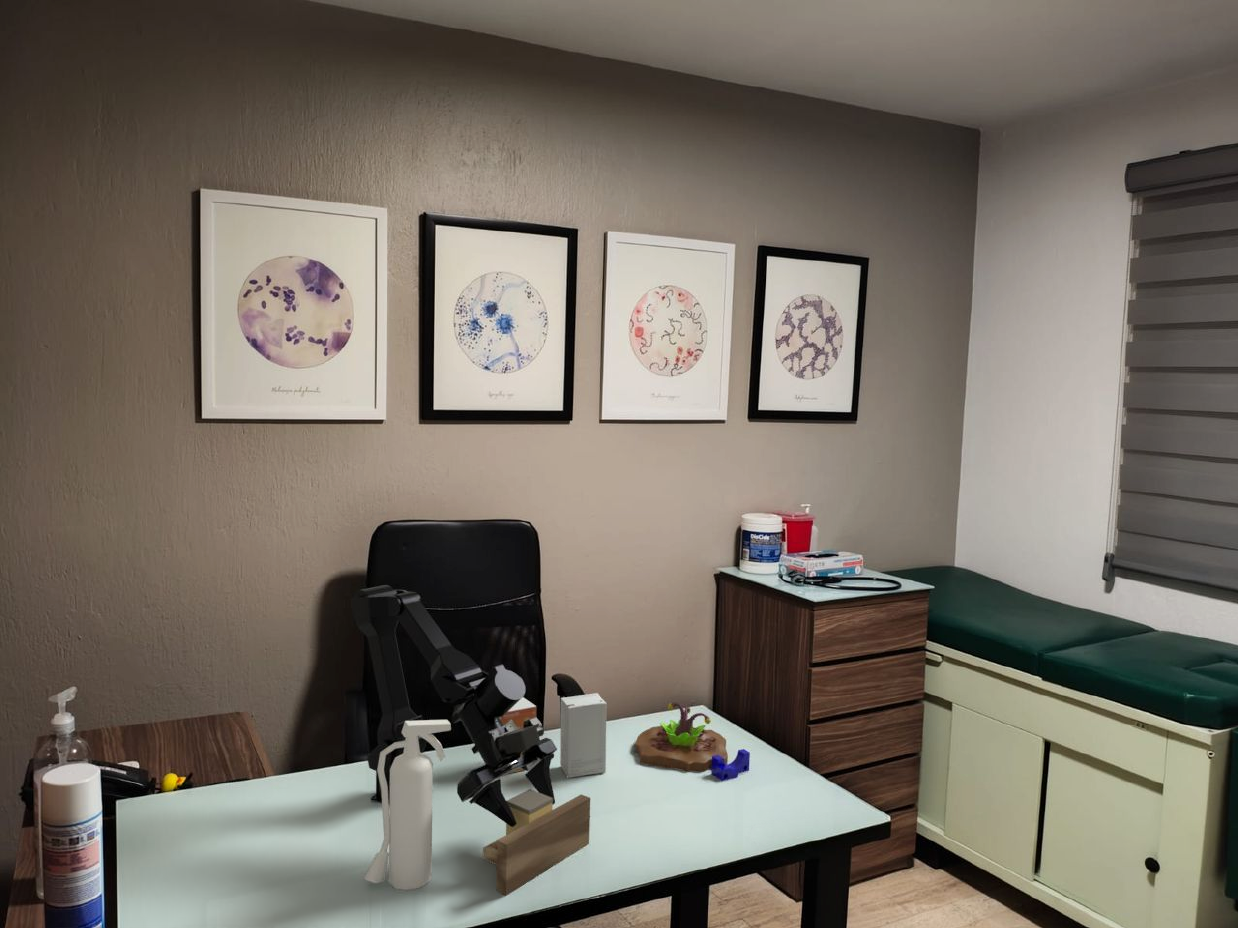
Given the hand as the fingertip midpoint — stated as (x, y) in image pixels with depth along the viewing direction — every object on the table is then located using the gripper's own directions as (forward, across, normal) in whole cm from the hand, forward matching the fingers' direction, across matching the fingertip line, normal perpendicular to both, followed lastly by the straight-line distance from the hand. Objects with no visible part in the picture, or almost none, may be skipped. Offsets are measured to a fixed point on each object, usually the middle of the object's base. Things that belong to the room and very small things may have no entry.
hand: (534, 814), depth 141 cm
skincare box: (-5, +32, +17) cm, 36 cm away
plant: (+2, +53, +10) cm, 54 cm away
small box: (-14, +23, +25) cm, 37 cm away
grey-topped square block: (+5, 0, +6) cm, 8 cm away
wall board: (+4, 0, +7) cm, 8 cm away
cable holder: (+12, +50, 0) cm, 52 cm away
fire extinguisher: (-2, -16, +14) cm, 22 cm away
